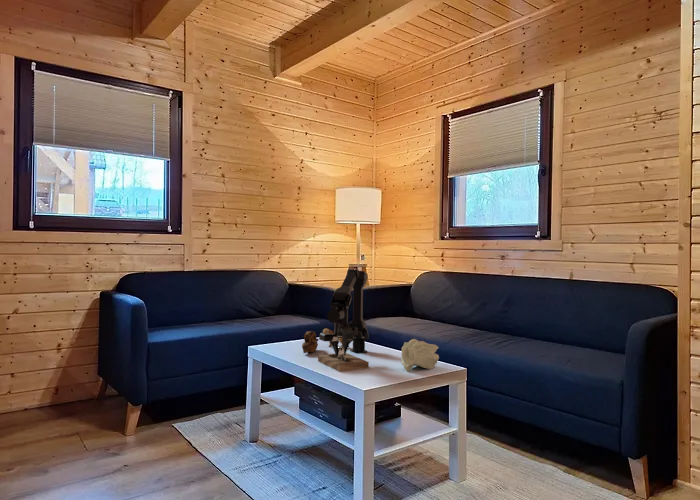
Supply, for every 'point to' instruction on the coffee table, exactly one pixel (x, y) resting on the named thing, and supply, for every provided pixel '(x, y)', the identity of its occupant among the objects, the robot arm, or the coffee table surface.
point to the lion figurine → (332, 333)
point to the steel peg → (341, 353)
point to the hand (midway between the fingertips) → (340, 355)
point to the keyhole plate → (340, 365)
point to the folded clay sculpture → (419, 354)
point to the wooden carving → (310, 342)
